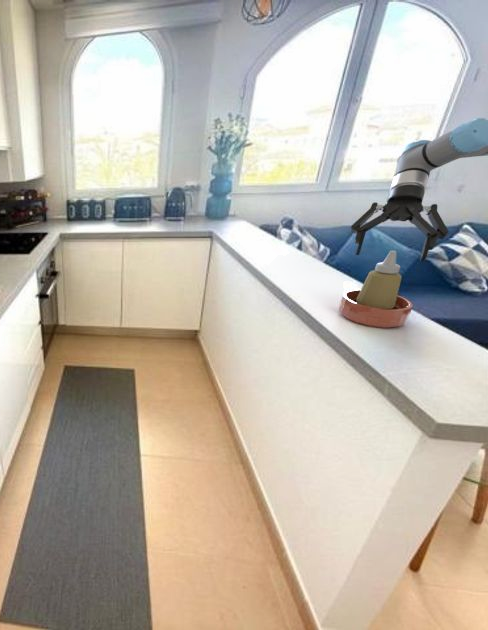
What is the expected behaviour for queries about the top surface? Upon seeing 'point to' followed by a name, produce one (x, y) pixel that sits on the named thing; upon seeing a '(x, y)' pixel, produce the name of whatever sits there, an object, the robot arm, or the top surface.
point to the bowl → (374, 311)
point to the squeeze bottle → (381, 284)
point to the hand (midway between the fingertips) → (389, 255)
